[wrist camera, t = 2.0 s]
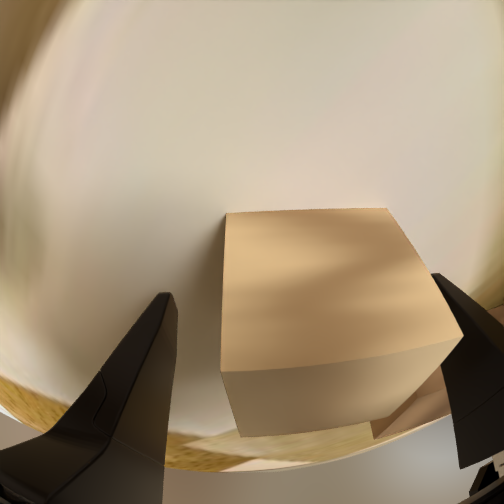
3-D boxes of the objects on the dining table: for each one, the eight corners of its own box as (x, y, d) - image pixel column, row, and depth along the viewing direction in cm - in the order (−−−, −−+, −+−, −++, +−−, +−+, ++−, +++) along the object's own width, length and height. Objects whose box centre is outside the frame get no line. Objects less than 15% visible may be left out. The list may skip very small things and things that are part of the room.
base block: (503, 300, 13) (529, 347, 10) (454, 367, 19) (469, 405, 16) (394, 332, 14) (417, 398, 11) (363, 394, 20) (373, 439, 17)
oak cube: (385, 206, 9) (463, 335, 5) (356, 308, 12) (388, 416, 8) (226, 212, 9) (220, 371, 5) (237, 317, 12) (240, 437, 8)
